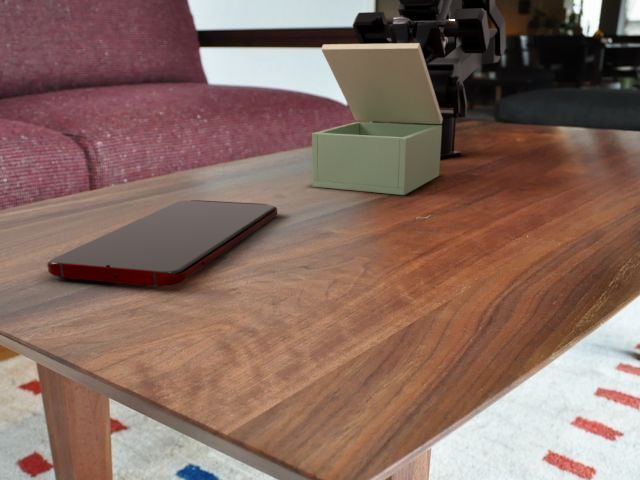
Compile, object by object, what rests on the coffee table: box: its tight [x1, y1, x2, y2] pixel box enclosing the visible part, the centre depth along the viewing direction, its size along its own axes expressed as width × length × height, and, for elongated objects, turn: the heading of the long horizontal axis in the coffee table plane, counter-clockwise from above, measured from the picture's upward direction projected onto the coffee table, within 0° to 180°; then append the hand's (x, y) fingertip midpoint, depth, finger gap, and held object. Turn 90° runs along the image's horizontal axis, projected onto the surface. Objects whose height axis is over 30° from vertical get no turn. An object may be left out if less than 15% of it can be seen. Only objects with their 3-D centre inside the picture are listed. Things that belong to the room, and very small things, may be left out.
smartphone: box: [46, 199, 278, 287], centre depth 63 cm, size 12×2×25 cm
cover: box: [321, 42, 443, 124], centre depth 86 cm, size 14×13×1 cm
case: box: [311, 121, 442, 196], centre depth 88 cm, size 14×13×7 cm
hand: (403, 78), depth 92 cm, fingers closed
